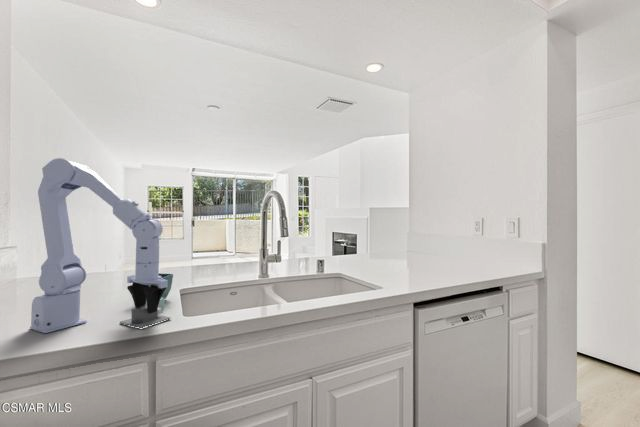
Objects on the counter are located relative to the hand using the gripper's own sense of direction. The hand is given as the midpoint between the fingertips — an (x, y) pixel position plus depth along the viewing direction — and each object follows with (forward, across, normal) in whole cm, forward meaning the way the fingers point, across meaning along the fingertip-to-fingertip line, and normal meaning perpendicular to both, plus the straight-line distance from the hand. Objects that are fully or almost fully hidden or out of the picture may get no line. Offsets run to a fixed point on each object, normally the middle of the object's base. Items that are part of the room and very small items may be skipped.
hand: (146, 311), depth 86 cm
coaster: (+3, 0, 0) cm, 3 cm away
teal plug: (+3, +7, -8) cm, 11 cm away
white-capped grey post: (+2, 0, 0) cm, 2 cm away
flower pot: (+3, +17, -15) cm, 23 cm away
